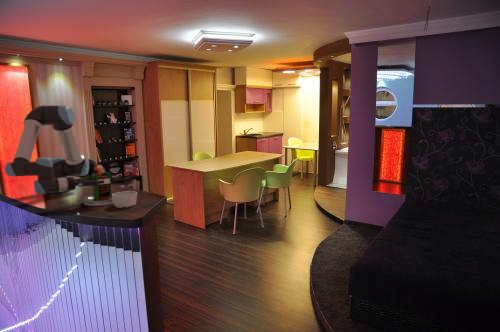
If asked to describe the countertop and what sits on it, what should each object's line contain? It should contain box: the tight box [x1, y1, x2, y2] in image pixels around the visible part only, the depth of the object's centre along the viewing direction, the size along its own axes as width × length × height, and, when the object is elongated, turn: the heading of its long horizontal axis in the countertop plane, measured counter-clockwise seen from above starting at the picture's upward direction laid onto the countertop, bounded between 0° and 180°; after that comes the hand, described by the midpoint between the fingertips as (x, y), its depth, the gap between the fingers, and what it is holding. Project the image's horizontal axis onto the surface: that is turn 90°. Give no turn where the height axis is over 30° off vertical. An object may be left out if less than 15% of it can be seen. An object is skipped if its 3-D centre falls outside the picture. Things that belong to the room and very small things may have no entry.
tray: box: [82, 192, 114, 207], centre depth 203 cm, size 20×20×3 cm
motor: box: [91, 165, 112, 201], centre depth 202 cm, size 10×9×20 cm
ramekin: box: [112, 190, 138, 209], centre depth 193 cm, size 13×13×7 cm
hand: (106, 179), depth 203 cm, fingers open, 13 cm apart
